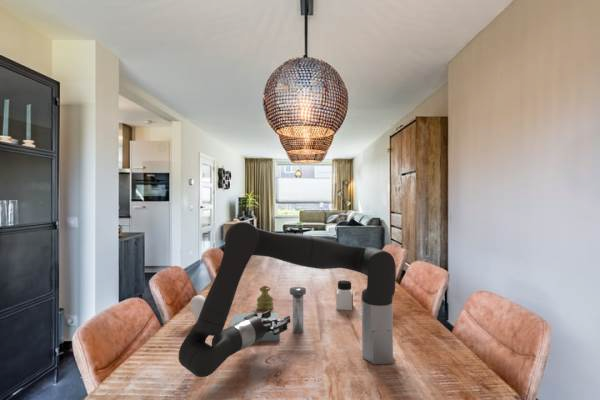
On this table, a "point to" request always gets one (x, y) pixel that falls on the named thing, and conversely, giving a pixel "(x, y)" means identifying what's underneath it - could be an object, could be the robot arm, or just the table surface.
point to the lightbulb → (197, 305)
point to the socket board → (268, 335)
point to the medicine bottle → (344, 296)
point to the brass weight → (264, 299)
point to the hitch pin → (297, 308)
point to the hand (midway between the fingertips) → (279, 315)
